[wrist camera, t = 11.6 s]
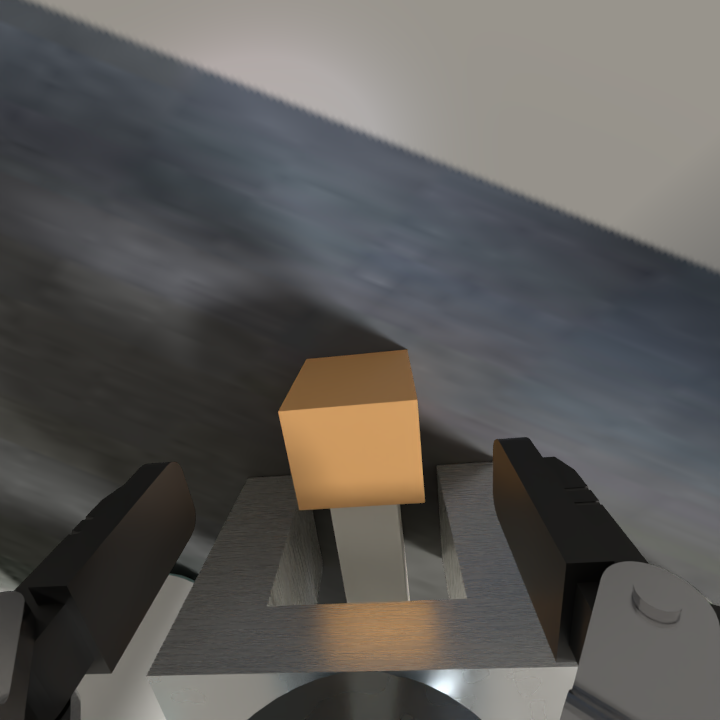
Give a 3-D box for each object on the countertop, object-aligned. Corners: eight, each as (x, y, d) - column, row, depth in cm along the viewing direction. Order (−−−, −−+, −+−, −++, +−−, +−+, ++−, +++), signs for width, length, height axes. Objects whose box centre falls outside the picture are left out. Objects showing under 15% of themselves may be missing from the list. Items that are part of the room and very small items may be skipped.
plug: (407, 349, 17) (417, 399, 12) (431, 652, 23) (444, 761, 19) (306, 358, 17) (278, 411, 12) (358, 653, 24) (352, 761, 19)
